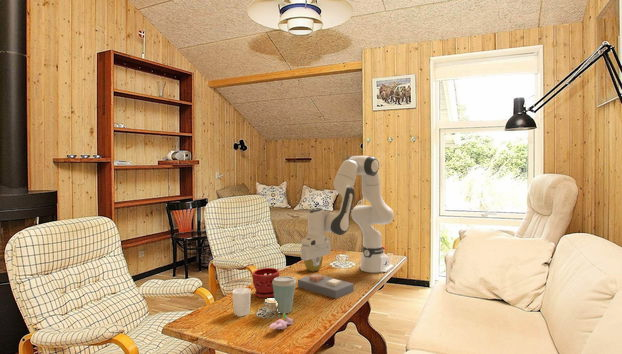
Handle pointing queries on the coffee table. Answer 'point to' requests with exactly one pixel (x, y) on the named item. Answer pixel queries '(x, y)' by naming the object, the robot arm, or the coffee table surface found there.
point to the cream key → (334, 282)
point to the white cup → (241, 301)
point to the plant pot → (264, 281)
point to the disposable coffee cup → (284, 292)
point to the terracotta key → (316, 277)
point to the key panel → (324, 291)
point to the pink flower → (282, 323)
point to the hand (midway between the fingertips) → (316, 265)
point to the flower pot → (310, 265)
